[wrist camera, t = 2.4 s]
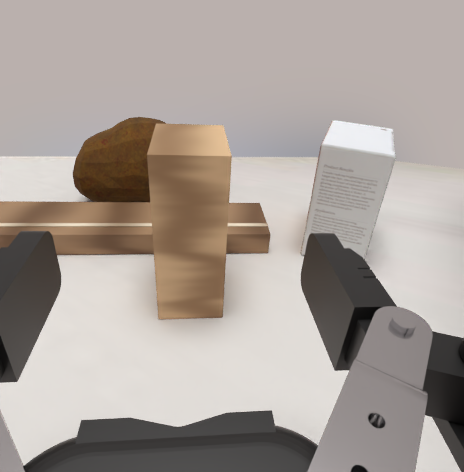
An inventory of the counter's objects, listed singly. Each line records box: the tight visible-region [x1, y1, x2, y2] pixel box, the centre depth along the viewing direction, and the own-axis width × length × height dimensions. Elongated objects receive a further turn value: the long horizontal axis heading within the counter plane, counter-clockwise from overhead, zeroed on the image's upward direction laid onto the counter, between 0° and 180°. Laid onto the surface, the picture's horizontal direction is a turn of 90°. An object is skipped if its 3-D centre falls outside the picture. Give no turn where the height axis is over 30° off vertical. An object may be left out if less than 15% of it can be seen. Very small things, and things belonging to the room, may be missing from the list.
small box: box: [301, 120, 396, 259], centre depth 33 cm, size 8×6×10 cm
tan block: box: [147, 124, 232, 319], centre depth 28 cm, size 4×12×12 cm, turn 5°
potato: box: [73, 117, 166, 202], centre depth 40 cm, size 8×12×9 cm
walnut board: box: [0, 202, 270, 255], centre depth 34 cm, size 26×6×2 cm, turn 95°
